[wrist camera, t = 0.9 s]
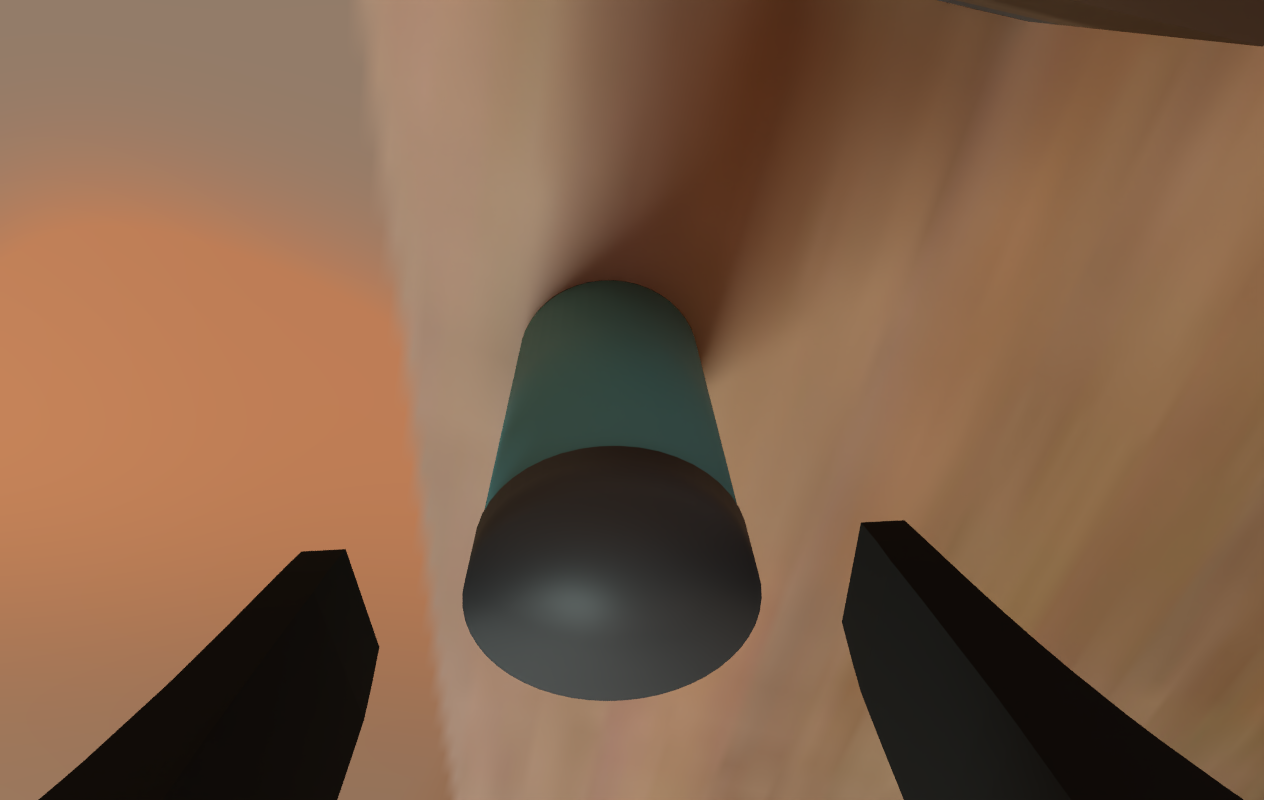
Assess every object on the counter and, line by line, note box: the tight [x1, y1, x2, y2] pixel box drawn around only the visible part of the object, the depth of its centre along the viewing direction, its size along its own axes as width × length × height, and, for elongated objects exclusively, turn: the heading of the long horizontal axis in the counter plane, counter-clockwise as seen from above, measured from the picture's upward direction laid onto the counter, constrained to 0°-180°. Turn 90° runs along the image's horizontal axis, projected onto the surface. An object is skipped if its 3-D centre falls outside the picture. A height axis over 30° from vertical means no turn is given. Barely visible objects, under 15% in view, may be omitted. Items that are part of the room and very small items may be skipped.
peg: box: [463, 280, 762, 701], centre depth 12 cm, size 4×4×7 cm
